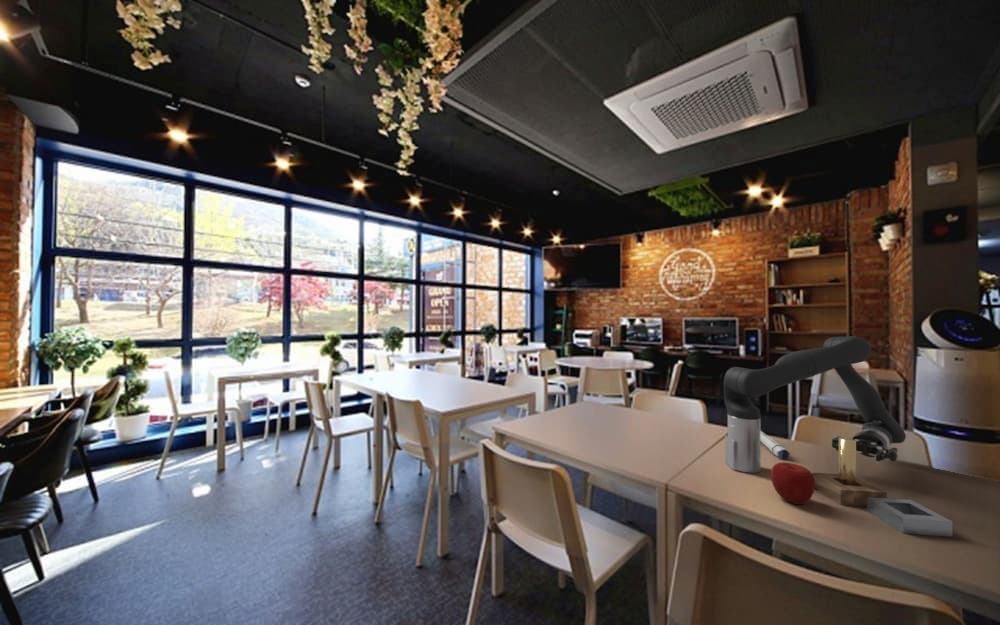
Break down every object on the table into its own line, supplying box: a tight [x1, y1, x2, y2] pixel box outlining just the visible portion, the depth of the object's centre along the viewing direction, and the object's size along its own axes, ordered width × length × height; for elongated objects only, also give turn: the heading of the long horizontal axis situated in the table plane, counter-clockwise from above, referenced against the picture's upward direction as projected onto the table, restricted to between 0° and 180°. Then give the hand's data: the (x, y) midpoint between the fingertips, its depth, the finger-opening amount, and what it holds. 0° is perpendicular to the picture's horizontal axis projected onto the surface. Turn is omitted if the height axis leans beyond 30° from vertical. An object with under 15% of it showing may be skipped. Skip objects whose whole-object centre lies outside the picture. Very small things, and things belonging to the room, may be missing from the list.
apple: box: [770, 462, 816, 505], centre depth 102 cm, size 10×10×10 cm
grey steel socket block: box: [866, 497, 954, 538], centre depth 91 cm, size 10×10×4 cm
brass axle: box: [838, 436, 857, 486], centre depth 105 cm, size 4×4×16 cm
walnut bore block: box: [811, 471, 888, 507], centre depth 105 cm, size 11×11×4 cm
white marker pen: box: [760, 430, 791, 460], centre depth 143 cm, size 5×7×25 cm
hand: (857, 453), depth 111 cm, fingers open, 8 cm apart
